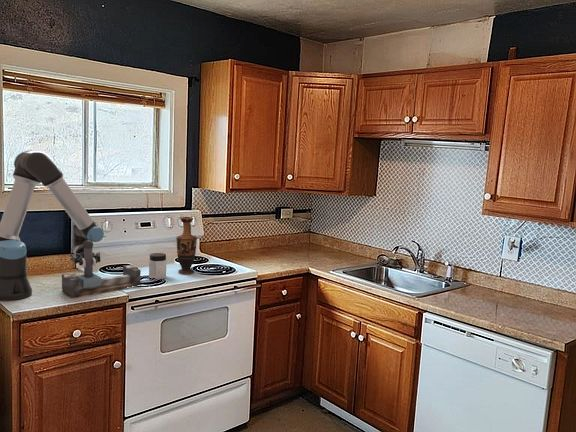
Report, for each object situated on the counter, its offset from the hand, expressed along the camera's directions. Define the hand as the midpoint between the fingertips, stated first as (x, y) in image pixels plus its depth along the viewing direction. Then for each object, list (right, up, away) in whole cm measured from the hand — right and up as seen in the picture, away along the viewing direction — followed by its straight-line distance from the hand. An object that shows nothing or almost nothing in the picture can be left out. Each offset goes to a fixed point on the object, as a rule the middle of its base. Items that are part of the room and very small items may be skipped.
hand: (89, 263), depth 217 cm
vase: (+33, -9, +46) cm, 58 cm away
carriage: (-3, -10, +6) cm, 12 cm away
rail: (+1, -13, +11) cm, 17 cm away
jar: (+21, -11, +34) cm, 42 cm away
